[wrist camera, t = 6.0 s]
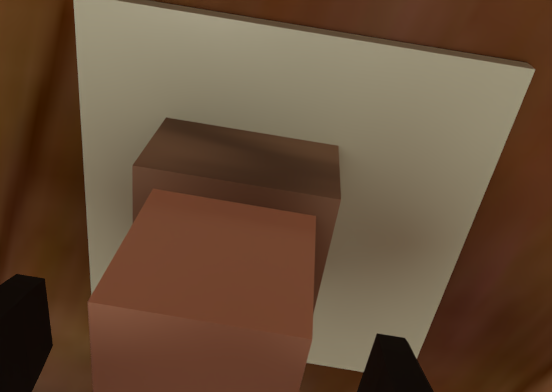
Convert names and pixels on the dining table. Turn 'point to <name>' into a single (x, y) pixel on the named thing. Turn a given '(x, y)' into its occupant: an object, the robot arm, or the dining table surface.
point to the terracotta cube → (205, 299)
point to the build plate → (311, 127)
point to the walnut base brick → (244, 173)
